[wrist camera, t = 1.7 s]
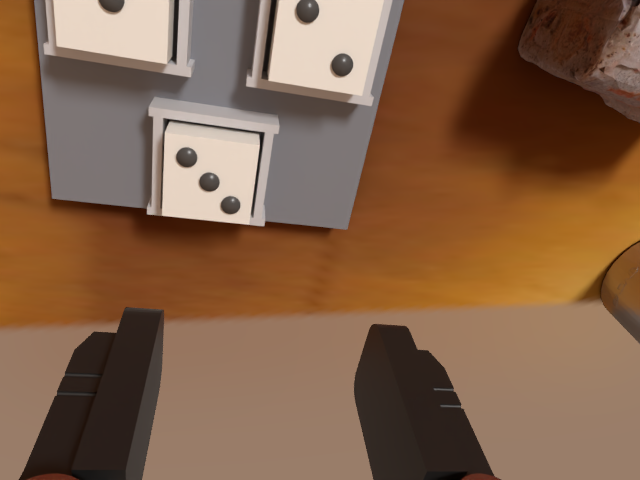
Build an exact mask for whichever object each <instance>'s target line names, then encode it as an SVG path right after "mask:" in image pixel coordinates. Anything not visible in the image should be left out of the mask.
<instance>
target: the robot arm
mask: <svg viewBox="0 0 640 480" xmlns="http://www.w3.org/2000/svg"><path fill="white" fill-rule="evenodd" d="M601 299H602V302H603V305H604V306H605V308H606V309H607V310H608V311H609V312H610V313H611V314H612V315H613V316H614V317H615V318H616V319H617V320H618V321H619V322H620V324H621V325H622V326H623V327H624V328H625V329H626V330H627V331H628V332H629V333H630V334H631V335H632V336H633V337H634V338H635V339H636V340H637V341H638V342H639V344H640V242H639V243H637V244H636V245H634V246H632V247H631V248H630V249H628V250H627V251H626V252H625V253H623V254H622V255H621V256H620V257H619V258H618V259H617V260H616V261H615V262H614V264H613V265H612V266H611V268H610V269H609V271H608V272H607V274H606V276H605V278H604V281H603V284H602V288H601ZM163 330H164V310H159V309H143V308H128V307H126V308H125V310H124V312H123V315H122V318H121V321H120V324H119V327H118V330H117V333H108V332H93V333H92V334H91V335H90V336H89V337H88V338H87V339H86V340H85V341H84V342H83V343H82V344H80V345H79V346H78V347H77V348H76V349H75V350H74V353H73V355H72V357H71V360H70V362H69V364H68V367H67V369H66V371H65V376H64V377H63V379H62V381H61V383H60V386H59V388H58V391H57V396H55V398H54V400H53V403H52V405H51V407H50V410H49V412H48V414H47V417H46V419H45V421H44V424H43V426H42V429H41V431H40V434H39V436H38V438H37V441H36V443H35V445H34V448H33V450H32V452H31V455H30V457H29V460H28V462H27V464H26V467H25V469H24V471H23V473H22V475H21V477H20V479H19V480H142V476H143V471H144V466H145V461H146V456H147V450H148V446H149V440H150V435H151V430H152V425H153V420H154V415H155V410H156V404H157V399H158V394H159V388H160V380H161V372H162V354H163V353H162V352H163ZM453 389H454V388H453V385H452V383H451V381H450V379H449V377H448V375H447V372H446V370H445V368H444V367H443V366H442V365H441V364H440V363H439V362H438V361H437V360H436V359H435V357H434V356H432V354H431V353H429V351H427V350H417V348H416V345H415V343H414V341H413V338H412V335H411V333H410V331H409V329H408V328H407V327H406V326H397V325H382V324H373V325H372V326H371V327H370V329H369V332H368V336H367V339H366V342H365V345H364V348H363V351H362V355H361V358H360V361H359V364H358V368H357V371H356V375H355V382H354V395H355V402H356V407H357V411H358V415H359V419H360V423H361V427H362V432H363V436H364V441H365V445H366V449H367V453H368V458H369V462H370V466H371V470H372V475H373V479H374V480H501V479H499V478H497V477H495V476H494V474H493V473H492V470H491V468H490V466H489V464H488V462H487V460H486V457H485V455H484V453H483V451H482V449H481V446H480V444H479V442H478V440H477V438H476V436H475V433H474V431H473V429H472V427H471V425H470V423H469V420H468V418H467V416H466V414H465V412H464V409H461V403H460V401H459V399H458V396H457V394H456V392H454V391H453Z"/></svg>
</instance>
